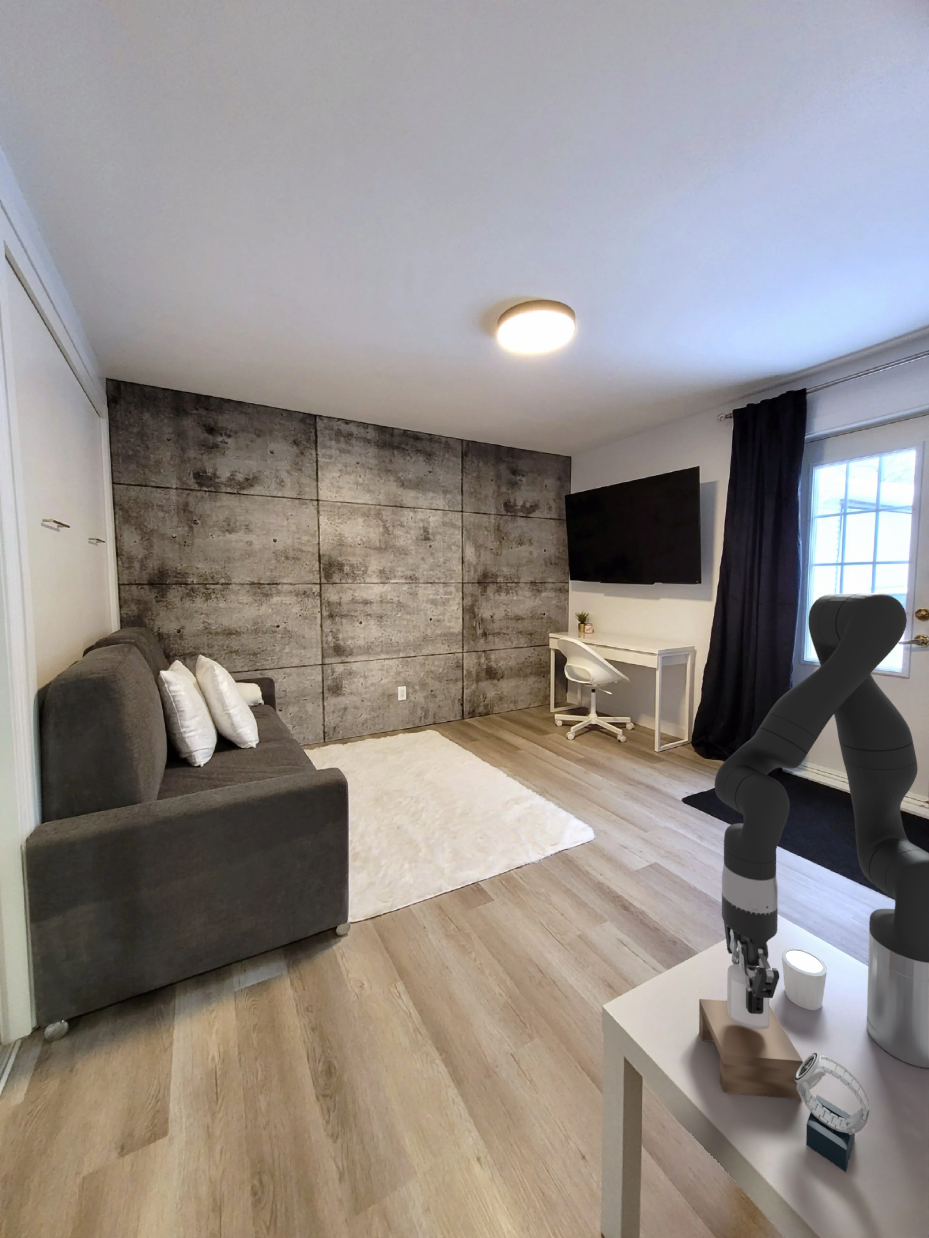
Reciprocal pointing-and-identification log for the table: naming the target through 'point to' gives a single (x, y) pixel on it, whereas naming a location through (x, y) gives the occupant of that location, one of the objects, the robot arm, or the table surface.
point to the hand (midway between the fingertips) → (748, 999)
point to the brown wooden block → (750, 1053)
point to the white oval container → (804, 978)
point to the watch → (830, 1111)
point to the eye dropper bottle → (743, 1000)
